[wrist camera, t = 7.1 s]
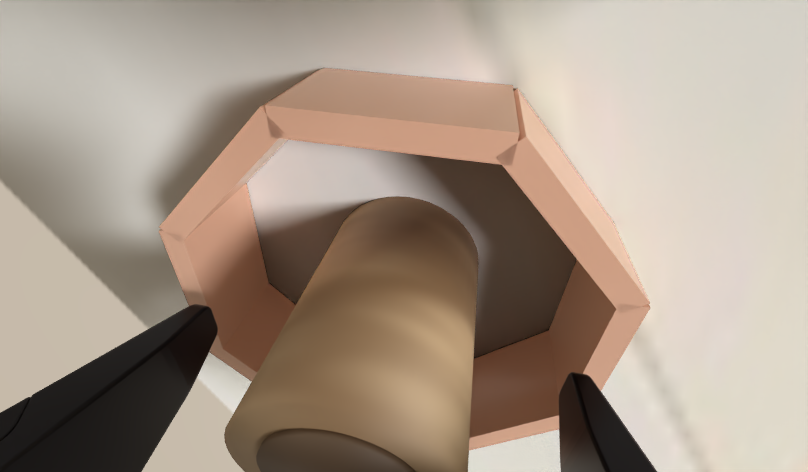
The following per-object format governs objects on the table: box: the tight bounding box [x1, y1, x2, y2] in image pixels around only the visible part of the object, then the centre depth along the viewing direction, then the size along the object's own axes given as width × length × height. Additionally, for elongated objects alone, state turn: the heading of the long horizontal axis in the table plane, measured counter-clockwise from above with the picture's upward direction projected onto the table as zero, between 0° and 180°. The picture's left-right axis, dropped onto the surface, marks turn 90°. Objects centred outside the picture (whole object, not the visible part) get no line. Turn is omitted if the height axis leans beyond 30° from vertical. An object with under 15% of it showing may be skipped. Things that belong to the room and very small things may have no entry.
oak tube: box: [224, 197, 479, 472], centre depth 10 cm, size 5×5×7 cm
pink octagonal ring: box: [159, 68, 650, 450], centre depth 11 cm, size 11×11×3 cm
